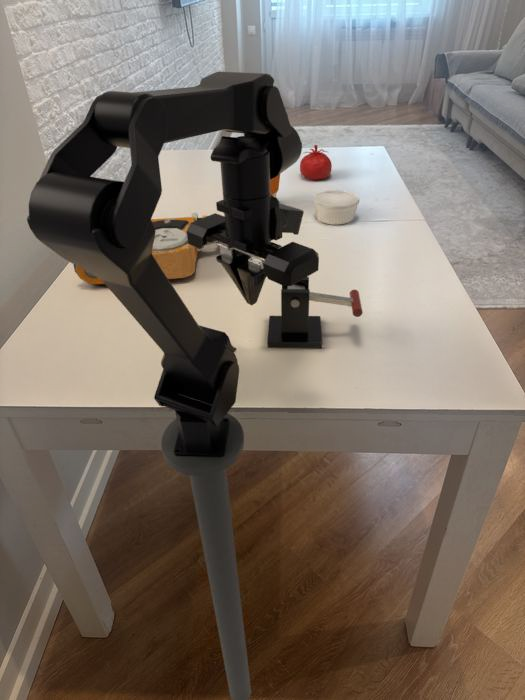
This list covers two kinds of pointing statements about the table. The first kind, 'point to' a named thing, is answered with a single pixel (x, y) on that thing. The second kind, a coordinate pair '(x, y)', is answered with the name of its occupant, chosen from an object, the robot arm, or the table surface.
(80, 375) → the table surface
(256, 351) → the table surface
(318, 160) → the red tomato
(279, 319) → the bracket
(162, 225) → the device
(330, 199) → the ramekin
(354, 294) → the lever
